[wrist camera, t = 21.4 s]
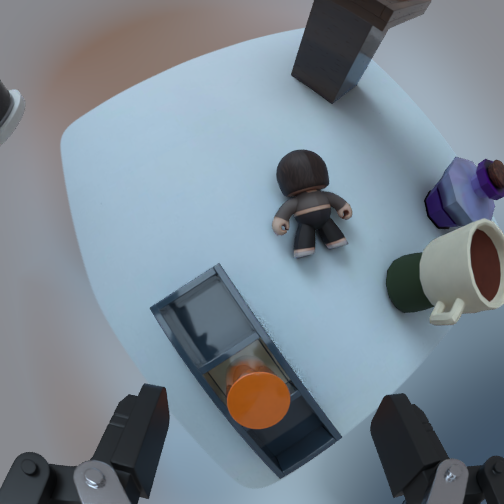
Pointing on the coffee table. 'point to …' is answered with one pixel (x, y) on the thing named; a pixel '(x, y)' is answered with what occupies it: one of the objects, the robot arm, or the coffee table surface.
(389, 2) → the walnut tray stand
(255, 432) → the three-compartment dish
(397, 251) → the coffee table surface
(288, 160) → the figurine
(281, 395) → the orange glossy cylinder
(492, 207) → the potion bottle
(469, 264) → the character mug
